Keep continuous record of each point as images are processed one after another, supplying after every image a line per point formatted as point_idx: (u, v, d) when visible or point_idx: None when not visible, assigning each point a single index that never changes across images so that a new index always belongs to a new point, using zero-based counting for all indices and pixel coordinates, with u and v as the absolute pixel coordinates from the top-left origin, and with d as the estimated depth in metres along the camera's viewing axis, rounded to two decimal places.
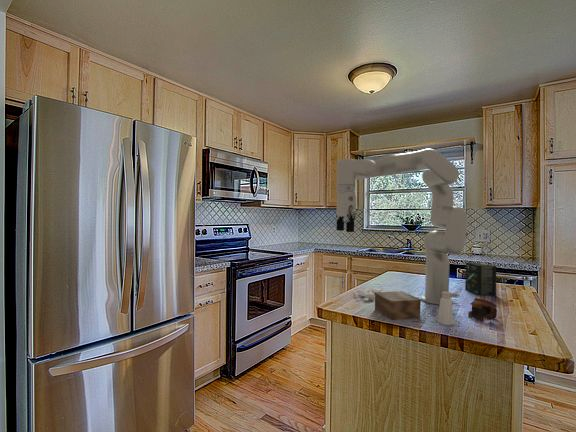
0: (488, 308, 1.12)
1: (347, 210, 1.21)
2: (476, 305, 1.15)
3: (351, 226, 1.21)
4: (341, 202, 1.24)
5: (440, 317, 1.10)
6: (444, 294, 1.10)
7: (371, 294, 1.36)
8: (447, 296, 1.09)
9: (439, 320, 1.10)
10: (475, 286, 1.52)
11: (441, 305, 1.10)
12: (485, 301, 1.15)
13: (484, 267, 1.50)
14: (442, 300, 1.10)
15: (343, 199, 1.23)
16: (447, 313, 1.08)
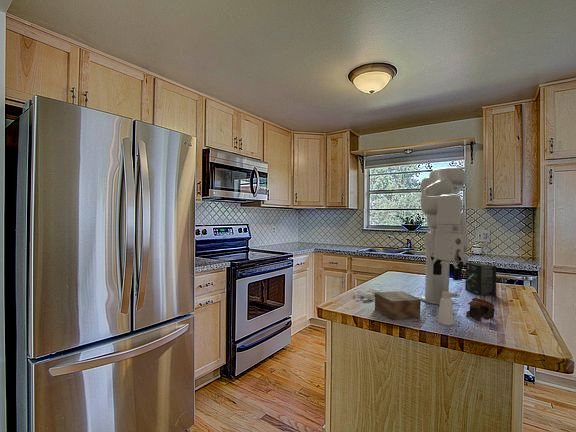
0: (486, 308, 1.13)
1: (454, 255, 1.05)
2: (474, 305, 1.16)
3: (460, 274, 1.04)
4: (444, 244, 1.08)
5: (440, 317, 1.10)
6: (444, 294, 1.10)
7: (370, 294, 1.36)
8: (447, 296, 1.09)
9: (439, 320, 1.10)
10: (475, 286, 1.52)
11: (441, 305, 1.10)
12: (483, 301, 1.15)
13: (484, 267, 1.50)
14: (442, 300, 1.10)
15: (448, 241, 1.06)
16: (447, 313, 1.08)
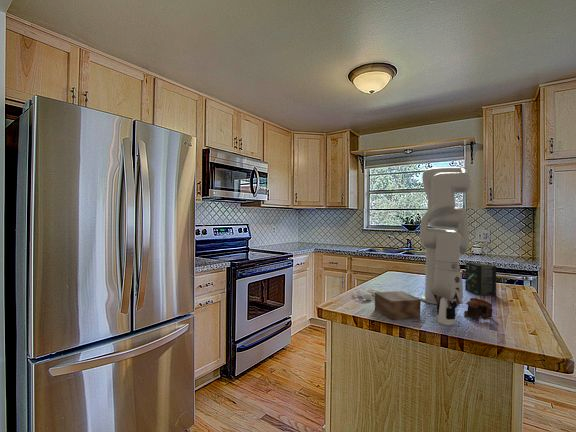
0: (484, 308, 1.13)
1: (453, 293, 1.05)
2: (472, 305, 1.16)
3: (453, 313, 1.07)
4: (443, 282, 1.08)
5: (440, 317, 1.10)
6: None
7: (368, 294, 1.36)
8: None
9: (439, 320, 1.10)
10: (475, 286, 1.52)
11: (441, 305, 1.10)
12: (481, 301, 1.16)
13: (484, 267, 1.50)
14: (442, 300, 1.10)
15: (447, 279, 1.07)
16: None
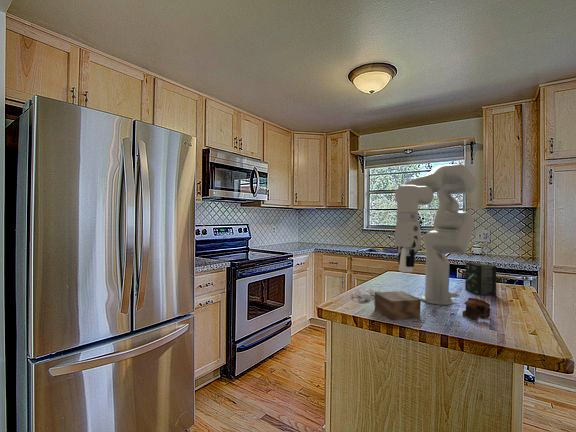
0: (482, 307, 1.13)
1: (412, 241, 1.12)
2: (470, 304, 1.16)
3: (412, 261, 1.14)
4: (403, 231, 1.15)
5: (400, 265, 1.16)
6: None
7: (367, 294, 1.36)
8: None
9: (400, 268, 1.17)
10: (475, 286, 1.52)
11: (401, 254, 1.17)
12: (479, 300, 1.16)
13: (484, 267, 1.50)
14: (402, 249, 1.17)
15: (406, 229, 1.14)
16: None
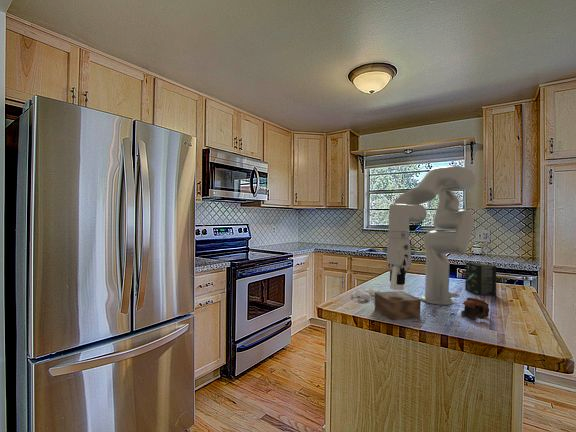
0: (480, 307, 1.13)
1: (402, 260, 1.14)
2: (469, 304, 1.16)
3: (402, 279, 1.16)
4: (394, 250, 1.17)
5: (391, 283, 1.18)
6: None
7: (366, 294, 1.36)
8: None
9: (391, 286, 1.19)
10: (475, 286, 1.52)
11: (392, 272, 1.18)
12: (477, 300, 1.16)
13: (484, 267, 1.50)
14: (393, 267, 1.18)
15: (397, 247, 1.15)
16: None
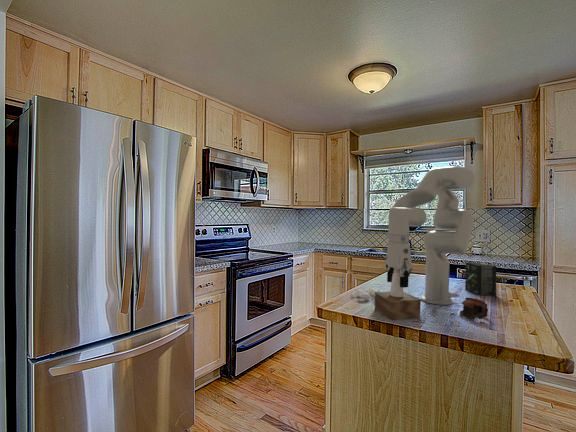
0: (479, 307, 1.13)
1: (402, 263, 1.14)
2: (467, 304, 1.16)
3: (405, 281, 1.14)
4: (394, 253, 1.17)
5: (391, 290, 1.19)
6: (395, 269, 1.19)
7: (366, 294, 1.35)
8: (398, 271, 1.18)
9: (390, 293, 1.19)
10: (475, 286, 1.52)
11: (392, 279, 1.19)
12: (476, 300, 1.16)
13: (484, 267, 1.50)
14: (393, 274, 1.19)
15: (397, 251, 1.16)
16: (398, 286, 1.17)
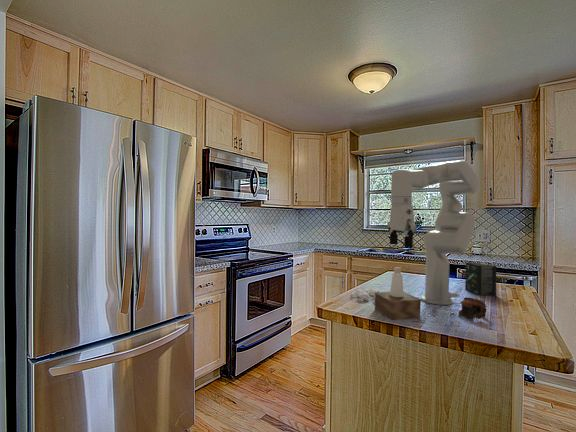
0: (478, 307, 1.13)
1: (405, 224, 1.15)
2: (466, 304, 1.16)
3: (410, 241, 1.14)
4: (397, 215, 1.18)
5: (391, 290, 1.19)
6: (395, 269, 1.19)
7: (365, 295, 1.35)
8: (398, 271, 1.18)
9: (390, 293, 1.19)
10: (475, 286, 1.52)
11: (392, 279, 1.19)
12: (475, 300, 1.16)
13: (484, 267, 1.50)
14: (393, 274, 1.19)
15: (400, 212, 1.16)
16: (397, 286, 1.17)
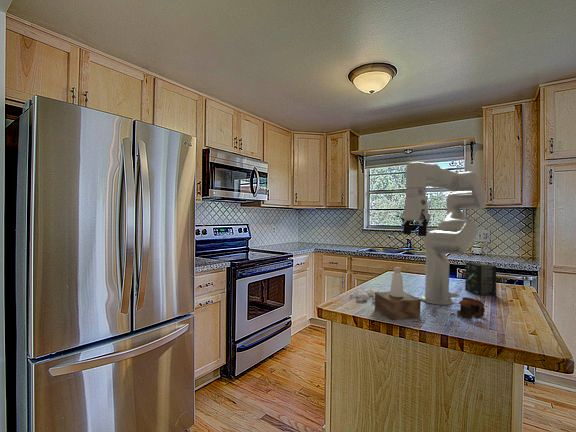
0: (476, 307, 1.14)
1: (420, 214, 1.20)
2: (464, 304, 1.16)
3: (424, 230, 1.19)
4: (412, 206, 1.23)
5: (391, 290, 1.19)
6: (395, 269, 1.19)
7: (364, 295, 1.35)
8: (397, 271, 1.18)
9: (390, 293, 1.19)
10: (475, 286, 1.52)
11: (392, 279, 1.19)
12: (473, 300, 1.16)
13: (484, 267, 1.50)
14: (393, 274, 1.19)
15: (415, 203, 1.22)
16: (397, 286, 1.17)
